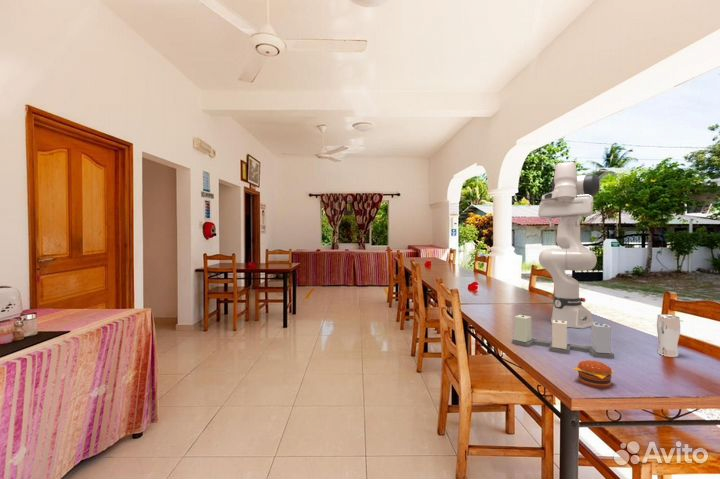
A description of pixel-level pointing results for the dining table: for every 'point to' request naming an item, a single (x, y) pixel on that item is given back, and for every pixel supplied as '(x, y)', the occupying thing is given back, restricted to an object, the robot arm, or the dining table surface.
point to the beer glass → (668, 334)
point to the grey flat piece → (560, 350)
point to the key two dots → (559, 334)
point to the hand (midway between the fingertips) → (564, 226)
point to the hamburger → (594, 374)
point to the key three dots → (601, 338)
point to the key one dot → (522, 328)
